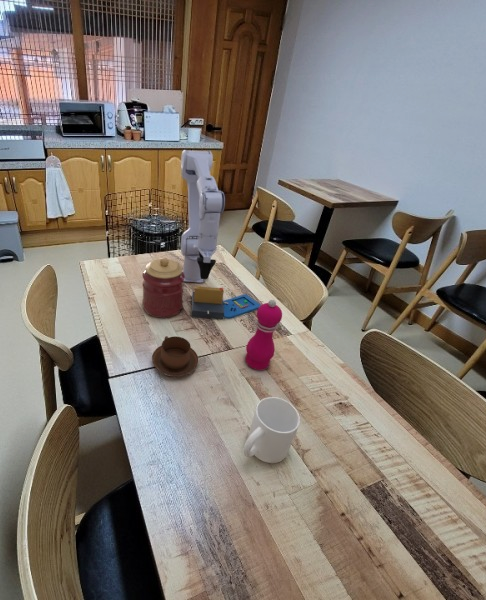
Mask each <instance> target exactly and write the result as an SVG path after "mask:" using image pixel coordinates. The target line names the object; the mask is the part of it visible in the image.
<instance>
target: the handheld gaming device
mask: <svg viewBox="0 0 486 600" xmlns="http://www.w3.org/2000/svg"><path fill="white" fill-rule="evenodd" d="M224 302H227V303H228V304H227V303H224ZM261 305H262V304H260V303H259V302H257V301H256V300H255V299H253V298H252V297H250V296H249V295H248V294H247V293H246V294H241V295H238V296H234V297H232V298H228V299H225V300H223V306H224V317H223V319H228V320H229V319H234V318H237V317H240V316H243V315H245V314H248V313H251V312H254V311H257V310H258V308H259V307H260V306H261Z"/></svg>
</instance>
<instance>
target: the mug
mask: <svg viewBox="0 0 486 600" xmlns="http://www.w3.org/2000/svg"><path fill="white" fill-rule="evenodd" d="M300 424H301V417H300V414H299V411H298V410H297V408H296V407H295V406H294V405H293V404H291V403H290V402H289V401H287V400H286V399H283V398H281V397H276V396H267V397H264V398H262V399H260V400H259V402H257V404H256V407H255V410H254V412H253V417H252V421H251V424H250V428H249V431H248V434H247V439H246V441H245V443H244V446H243V449H242V453H243V456H245V457H246V458H251V457H254V456H255V457H256V458H257V459H258V460H260V461H262V462H264V463H268V464H276V463H279V462H281V461H283V460H284V459H285V458H286V457H287V455H288V454H289V451H290V449H291V446H292V444H293V442H294V439H295V436H296V434H297V432H298V430H299V427H300Z"/></svg>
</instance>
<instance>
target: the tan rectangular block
mask: <svg viewBox="0 0 486 600" xmlns="http://www.w3.org/2000/svg"><path fill="white" fill-rule="evenodd" d="M194 292H195V293H194V302H202V303H215V304H222V300H223V301H224V294H225V293H224V292H225V289H224V287H212V286H211V287H210V286H197V285H195V286H194Z"/></svg>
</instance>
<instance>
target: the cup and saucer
mask: <svg viewBox="0 0 486 600" xmlns="http://www.w3.org/2000/svg"><path fill="white" fill-rule="evenodd" d="M151 359H152V364H153V366H154V368H155V369H156V370H157V371H158V372H160V373H161V374H164V375H166V376H169V377H183V376H187V375H189V374H191V373H192V372H194V371H195V370H196V368H197V367H198V365H199V356H198V354H197V352H196V351H195V349H193V347H192V346H191V343H190V341H188V340H187V339H186V338H184V337H181V336H167V335H165V336H164V340H163V341H162V343H161V345H160V346H157V348H156V349H155V350H154V351H153V353H152V356H151Z"/></svg>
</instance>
